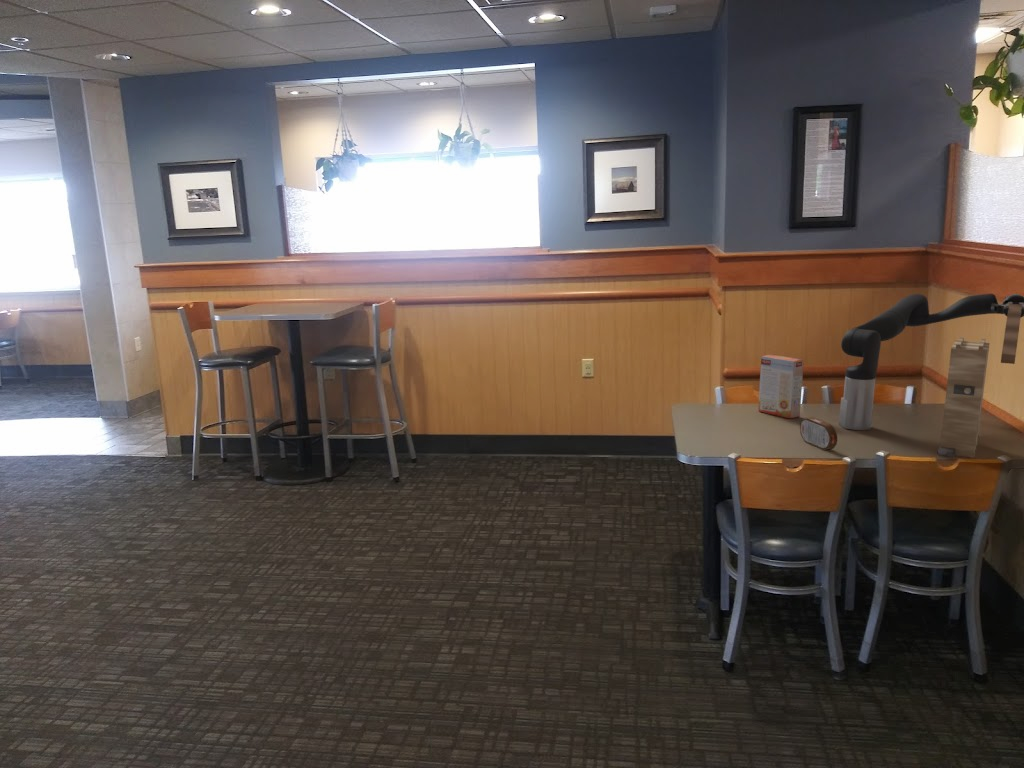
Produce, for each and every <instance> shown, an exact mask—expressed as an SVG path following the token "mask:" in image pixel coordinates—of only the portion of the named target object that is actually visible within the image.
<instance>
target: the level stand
mask: <svg viewBox="0 0 1024 768" xmlns="http://www.w3.org/2000/svg"><path fill="white" fill-rule="evenodd" d="M989 351H990V342H986V338H981V339H980V342H979V341H966V340H965V337H964V336H960V337H959V339H958V340H954V343H953V344H952V346H951V348H950V356H949V364H948V366H949V367H948V373H947V383H946V390H945V391H946V392H945V393H946V394H945V398H944V399H945V400H944V408H943V409H944V410H943V416H942V417H943V418H942V425H941V426H942V427H941V435H940V436H941V437H940V445H939V446H938V451H937V454H938V455H939V456H942V457H946V458H952V457H955V456H958V457H959V456H960V457H966V456H967V458H973V457H975V455H976V451H977V447H976V446H978V440H979V432H980V423H981V417H982V406H983V399H984V393H985V392H984V390H985V382H986V375H987V366H988V358H989ZM975 450H976V451H975ZM968 456H969V457H968Z"/></svg>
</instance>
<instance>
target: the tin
mask: <svg viewBox="0 0 1024 768" xmlns="http://www.w3.org/2000/svg"><path fill="white" fill-rule="evenodd" d="M799 431H800V432H799V433H800V435H801V438H802V439H803V441H804V442H805V443H807V444H808V445H810V446H811V445H812V446H814V447H816V448H818V449H821V450H823V451H826V450H833V449H835V448H836V446H837V444H838V433H837V430H836V428H835V427H834V425H833V424H832V423H830V422H829V421H825V420H822V419H819V418H817V417H815V416H809V417H805V418H803V419H802V420H801V421H800V427H799Z"/></svg>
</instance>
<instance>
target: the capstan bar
mask: <svg viewBox="0 0 1024 768" xmlns="http://www.w3.org/2000/svg"><path fill="white" fill-rule="evenodd" d="M1008 308H1009V309H1008V314H1007V316H1006V323H1005V329H1004V335H1003V344H1002V349H1001V355H1000V357H1001V358H1000V363H1001V364H1011V365H1012V364H1013V365H1014V364H1016V355H1017V347H1018V341H1019V335H1020V333H1019V332H1020V324H1021V318H1022V317H1021V309H1022V304H1009V307H1008Z"/></svg>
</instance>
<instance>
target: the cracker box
mask: <svg viewBox="0 0 1024 768" xmlns="http://www.w3.org/2000/svg"><path fill="white" fill-rule="evenodd" d="M760 359H761V361H760V372H759V373H760V376H759V392H758V406H757V407H758V409H757V412H760V413H765V414H769V415H773V416H778V417H781V418H786V419H793V418H799V417H800V415H801V403H802V391H803V390H802V389H803V388H802V387H803V375H804V374H803V373H804V362H805V361H804V359H800V358H795V357H789V356H783V355H782V356H781V355H775V354H765V355H761V358H760Z"/></svg>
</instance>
